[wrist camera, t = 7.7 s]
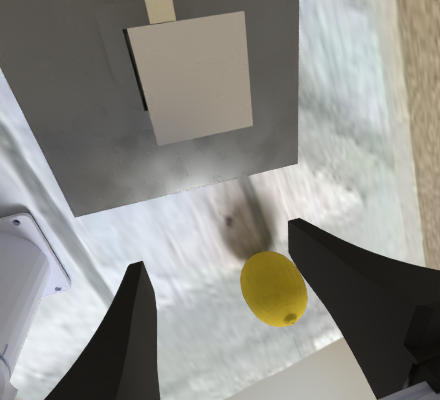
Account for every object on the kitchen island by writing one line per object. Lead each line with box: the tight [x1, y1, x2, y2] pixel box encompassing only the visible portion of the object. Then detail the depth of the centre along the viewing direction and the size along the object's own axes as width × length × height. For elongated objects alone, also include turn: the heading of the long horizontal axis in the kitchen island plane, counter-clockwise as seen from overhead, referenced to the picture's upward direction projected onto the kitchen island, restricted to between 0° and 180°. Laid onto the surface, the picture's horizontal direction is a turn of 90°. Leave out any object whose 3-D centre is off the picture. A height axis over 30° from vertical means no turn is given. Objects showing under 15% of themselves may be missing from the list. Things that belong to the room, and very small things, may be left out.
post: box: [127, 11, 253, 146], centre depth 11 cm, size 3×3×8 cm
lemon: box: [240, 251, 308, 327], centre depth 25 cm, size 6×6×8 cm
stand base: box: [0, 0, 299, 217], centre depth 16 cm, size 18×18×5 cm
